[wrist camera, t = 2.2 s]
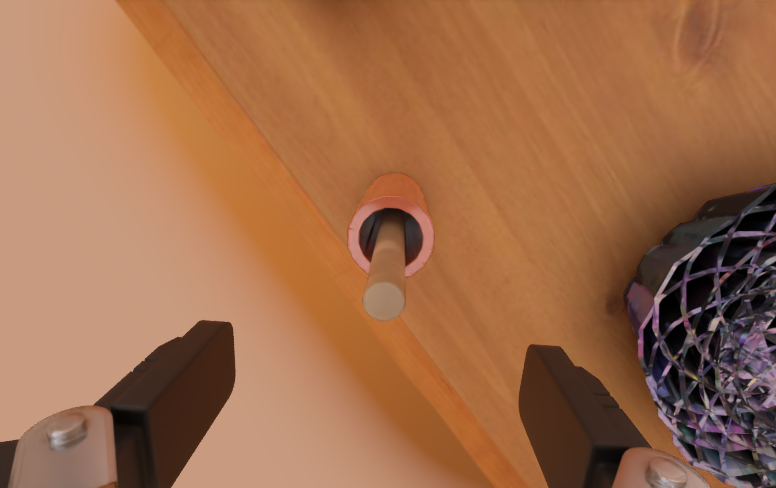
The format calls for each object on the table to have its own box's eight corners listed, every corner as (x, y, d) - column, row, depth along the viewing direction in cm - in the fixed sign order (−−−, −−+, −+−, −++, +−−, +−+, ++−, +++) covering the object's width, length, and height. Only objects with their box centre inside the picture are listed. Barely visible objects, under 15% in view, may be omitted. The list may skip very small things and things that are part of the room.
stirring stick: (384, 212, 34) (361, 320, 15) (385, 193, 34) (363, 280, 14) (403, 213, 34) (404, 323, 15) (404, 194, 34) (407, 283, 14)
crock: (364, 228, 35) (345, 277, 24) (367, 170, 34) (348, 193, 22) (421, 232, 35) (430, 283, 24) (426, 174, 34) (438, 198, 22)
